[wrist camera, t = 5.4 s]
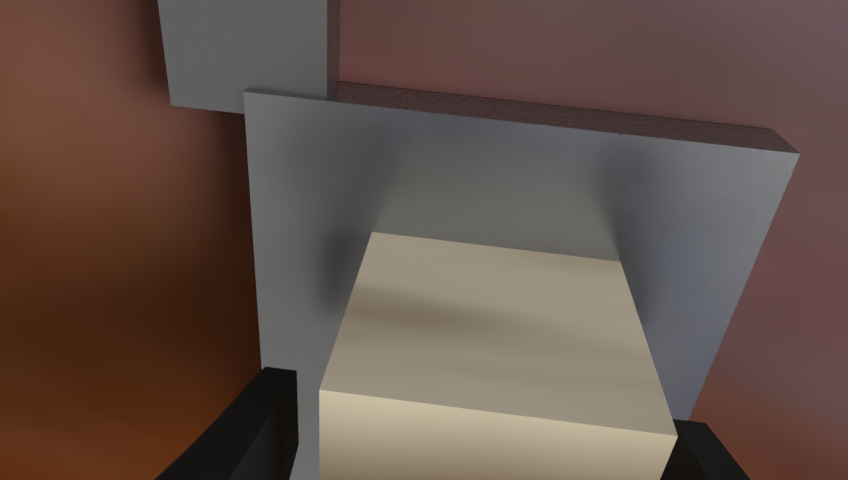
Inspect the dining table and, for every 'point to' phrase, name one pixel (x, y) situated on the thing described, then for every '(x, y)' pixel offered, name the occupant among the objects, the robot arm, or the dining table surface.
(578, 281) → the block
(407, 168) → the grey panel board
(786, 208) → the dining table surface
